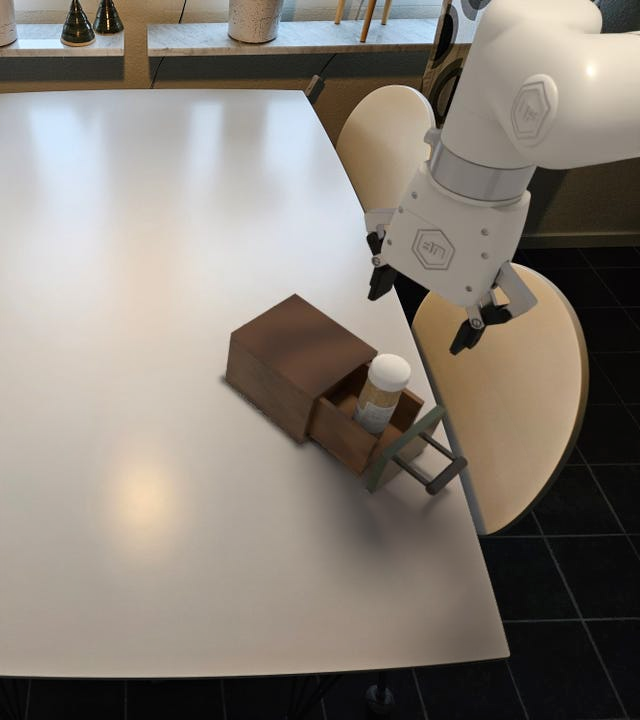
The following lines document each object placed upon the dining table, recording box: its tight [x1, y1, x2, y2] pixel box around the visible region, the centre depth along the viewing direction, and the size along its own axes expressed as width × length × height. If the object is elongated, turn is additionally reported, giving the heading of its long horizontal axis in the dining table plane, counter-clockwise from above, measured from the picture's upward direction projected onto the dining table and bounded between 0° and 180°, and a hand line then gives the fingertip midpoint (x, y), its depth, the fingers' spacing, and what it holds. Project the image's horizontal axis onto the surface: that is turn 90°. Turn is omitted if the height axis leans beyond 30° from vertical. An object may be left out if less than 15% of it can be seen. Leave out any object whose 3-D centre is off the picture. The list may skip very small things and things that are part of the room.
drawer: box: [307, 362, 469, 497], centre depth 81 cm, size 19×11×8 cm, turn 39°
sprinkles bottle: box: [352, 353, 412, 445], centre depth 79 cm, size 5×5×13 cm
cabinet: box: [224, 293, 379, 445], centre depth 88 cm, size 15×13×10 cm
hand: (418, 320), depth 64 cm, fingers open, 9 cm apart
